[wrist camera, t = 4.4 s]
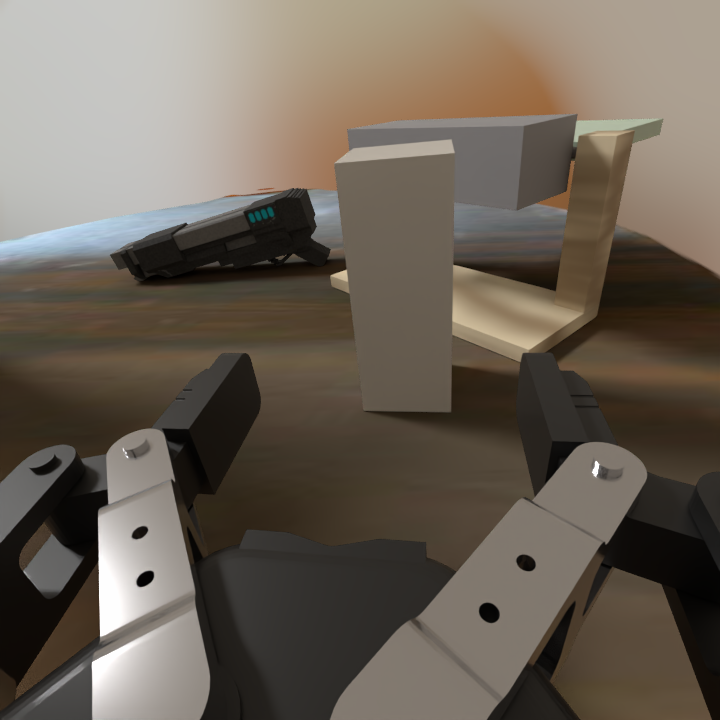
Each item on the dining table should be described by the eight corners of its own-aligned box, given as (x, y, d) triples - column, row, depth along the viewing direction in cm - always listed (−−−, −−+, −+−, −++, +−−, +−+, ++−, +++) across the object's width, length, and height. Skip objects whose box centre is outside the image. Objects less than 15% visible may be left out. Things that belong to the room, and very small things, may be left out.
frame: (527, 365, 25) (552, 154, 19) (331, 286, 38) (312, 147, 32) (596, 316, 29) (634, 130, 23) (398, 260, 42) (391, 132, 36)
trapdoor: (521, 211, 23) (529, 125, 21) (350, 188, 33) (344, 129, 31) (658, 157, 32) (674, 93, 30) (489, 152, 42) (492, 104, 40)
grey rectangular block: (450, 412, 22) (454, 152, 16) (363, 410, 23) (334, 163, 17) (449, 364, 26) (451, 139, 20) (374, 364, 27) (353, 148, 20)
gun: (334, 266, 42) (280, 163, 37) (170, 339, 47) (105, 257, 42) (338, 251, 45) (290, 156, 41) (186, 320, 51) (128, 243, 46)
